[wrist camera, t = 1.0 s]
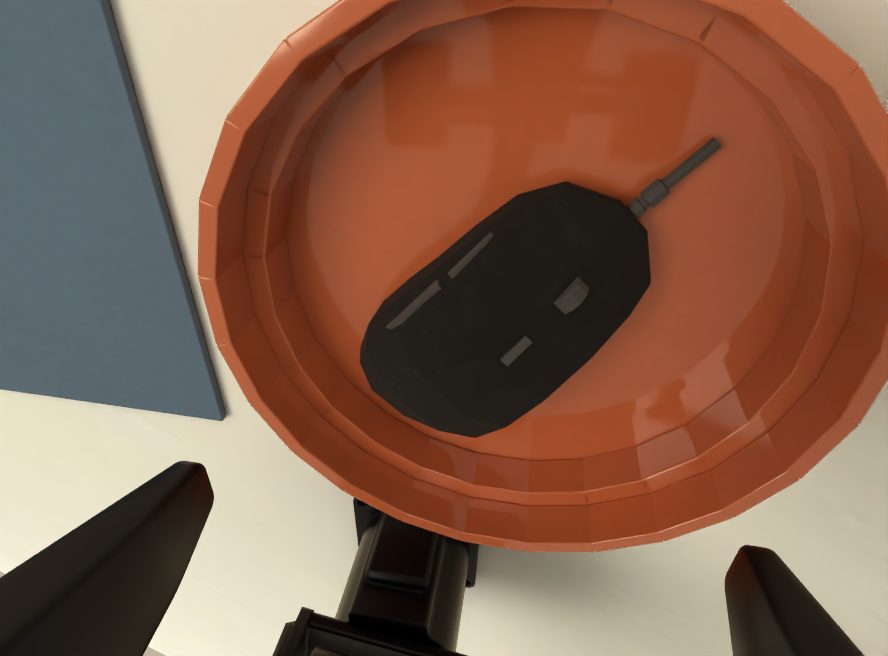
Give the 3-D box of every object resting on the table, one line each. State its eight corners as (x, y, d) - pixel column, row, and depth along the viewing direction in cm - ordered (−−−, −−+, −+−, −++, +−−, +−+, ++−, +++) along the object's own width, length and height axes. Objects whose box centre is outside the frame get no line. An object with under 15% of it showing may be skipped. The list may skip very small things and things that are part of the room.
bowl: (730, 504, 24) (756, 590, 21) (295, 441, 27) (259, 508, 24) (1005, -50, 13) (1159, -52, 9) (199, -68, 15) (102, -72, 12)
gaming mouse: (776, 215, 17) (829, 279, 13) (447, 430, 24) (429, 504, 21) (649, 54, 15) (674, 83, 12) (336, 340, 22) (299, 406, 19)
